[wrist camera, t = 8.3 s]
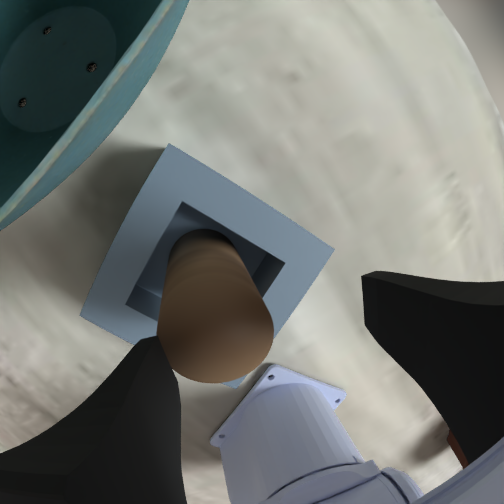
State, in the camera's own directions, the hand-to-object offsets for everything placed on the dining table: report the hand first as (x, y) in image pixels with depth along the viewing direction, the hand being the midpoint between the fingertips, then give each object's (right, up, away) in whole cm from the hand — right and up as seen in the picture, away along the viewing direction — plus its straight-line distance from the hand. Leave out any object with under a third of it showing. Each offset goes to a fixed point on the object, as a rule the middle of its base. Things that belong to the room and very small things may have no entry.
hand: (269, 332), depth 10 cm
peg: (-3, +2, +8) cm, 8 cm away
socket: (-4, +2, +9) cm, 10 cm away
